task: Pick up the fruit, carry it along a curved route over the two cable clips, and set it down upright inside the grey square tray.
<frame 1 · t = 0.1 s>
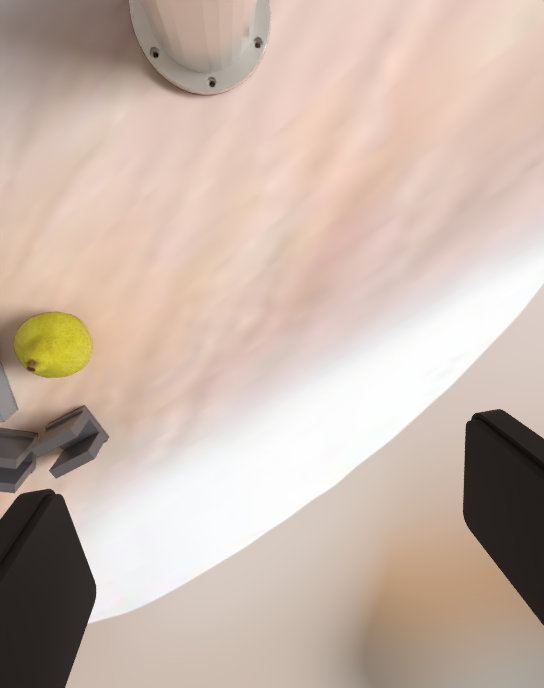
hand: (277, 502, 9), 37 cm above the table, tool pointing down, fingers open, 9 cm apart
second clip: (14, 448, 47), on the table
fruit: (69, 334, 44), on the table
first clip: (79, 430, 47), on the table
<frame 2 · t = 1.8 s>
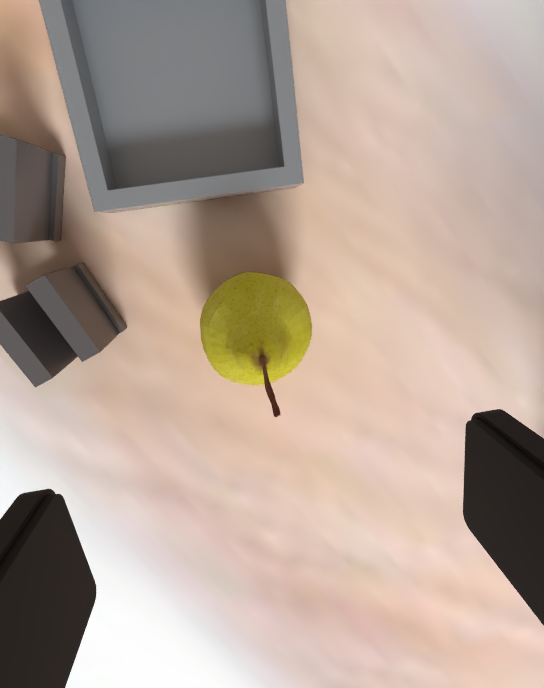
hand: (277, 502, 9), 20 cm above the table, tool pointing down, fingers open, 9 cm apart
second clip: (20, 190, 24), on the table
fruit: (253, 314, 28), on the table
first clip: (74, 313, 26), on the table
grey square tray: (185, 93, 23), on the table
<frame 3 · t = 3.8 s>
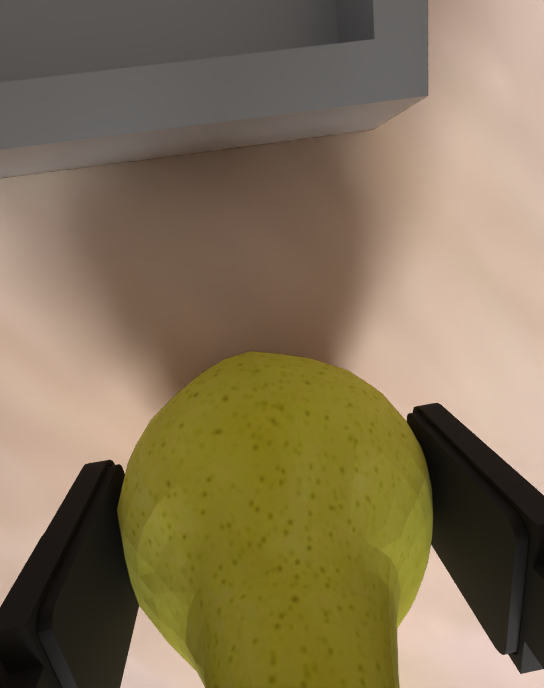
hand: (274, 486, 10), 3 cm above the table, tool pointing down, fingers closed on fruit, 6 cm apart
fruit: (263, 418, 13), on the table, touching gripper
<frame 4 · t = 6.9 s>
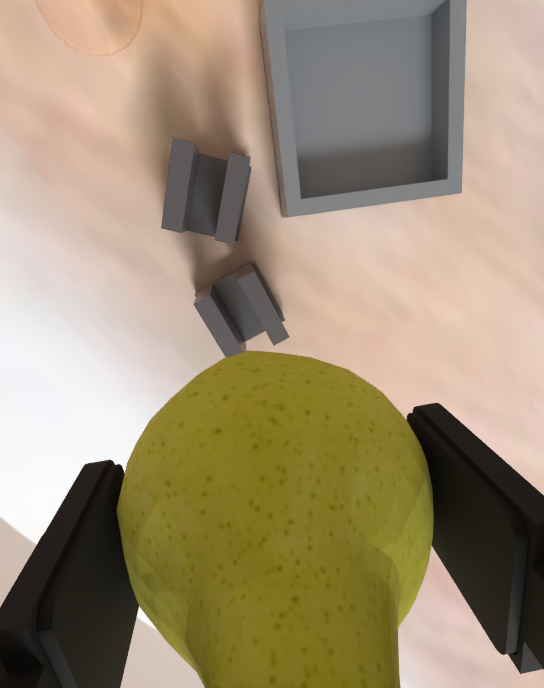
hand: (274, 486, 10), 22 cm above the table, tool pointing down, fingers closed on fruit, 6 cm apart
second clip: (209, 197, 28), on the table
fruit: (263, 418, 13), point 18 cm above the table, touching gripper
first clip: (240, 304, 30), on the table
grey square tray: (356, 115, 27), on the table
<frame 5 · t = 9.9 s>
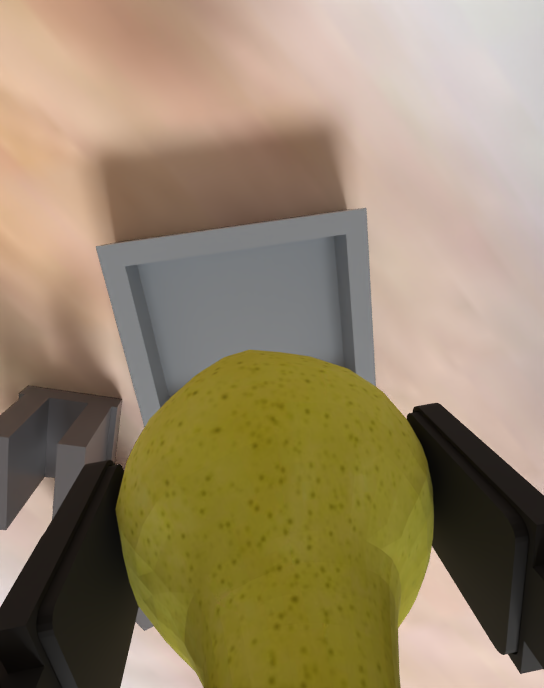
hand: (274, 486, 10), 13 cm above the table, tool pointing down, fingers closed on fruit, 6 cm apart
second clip: (72, 431, 22), on the table
fruit: (263, 417, 13), point 10 cm above the table, touching gripper
grey square tray: (250, 336, 22), on the table
when the fingers open (5 cm above the table, at t = 11.9 s): fruit drops 1 cm, resting on grey square tray.
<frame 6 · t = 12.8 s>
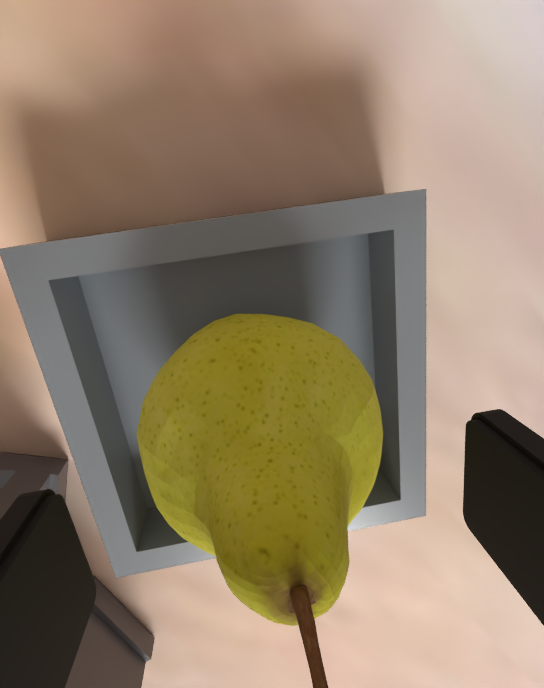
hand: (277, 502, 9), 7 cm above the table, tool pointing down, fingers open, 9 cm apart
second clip: (0, 503, 16), on the table
fruit: (251, 381, 15), point 1 cm above the table, touching grey square tray
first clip: (81, 630, 19), on the table
grey square tray: (246, 372, 16), on the table
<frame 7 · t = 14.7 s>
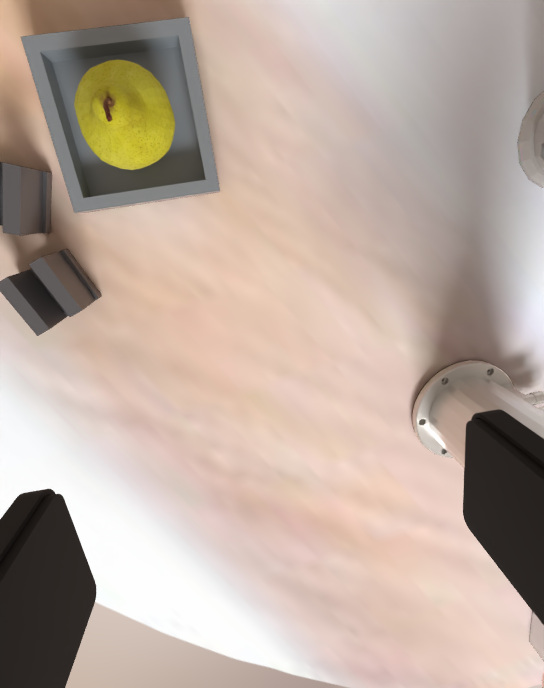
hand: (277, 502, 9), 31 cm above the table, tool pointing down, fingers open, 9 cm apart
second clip: (19, 197, 33), on the table
fruit: (136, 127, 32), point 1 cm above the table, touching grey square tray
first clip: (62, 286, 36), on the table
grey square tray: (136, 127, 33), on the table
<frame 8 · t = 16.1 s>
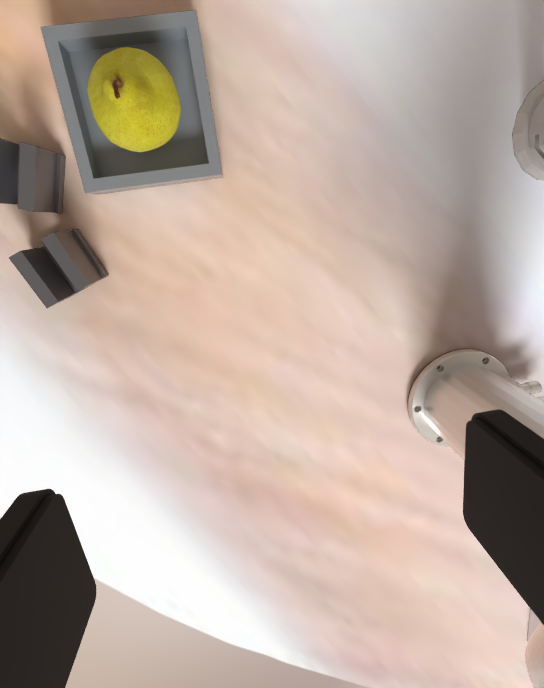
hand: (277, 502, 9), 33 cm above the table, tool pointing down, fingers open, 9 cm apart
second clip: (34, 178, 36), on the table
fruit: (145, 114, 34), point 1 cm above the table, touching grey square tray
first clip: (71, 264, 38), on the table
grey square tray: (145, 114, 35), on the table
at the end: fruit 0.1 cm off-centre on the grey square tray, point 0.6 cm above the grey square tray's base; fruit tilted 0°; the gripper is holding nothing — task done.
